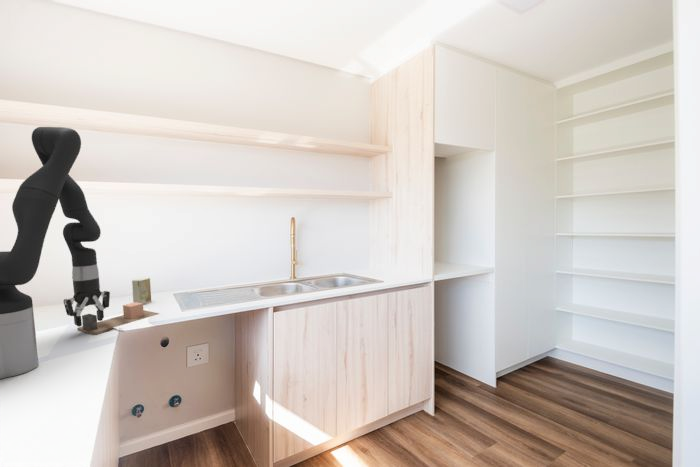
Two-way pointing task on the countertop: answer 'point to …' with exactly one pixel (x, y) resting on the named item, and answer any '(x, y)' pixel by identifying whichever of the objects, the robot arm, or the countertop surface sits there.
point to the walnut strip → (107, 322)
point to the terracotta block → (133, 310)
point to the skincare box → (141, 290)
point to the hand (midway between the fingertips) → (89, 322)
